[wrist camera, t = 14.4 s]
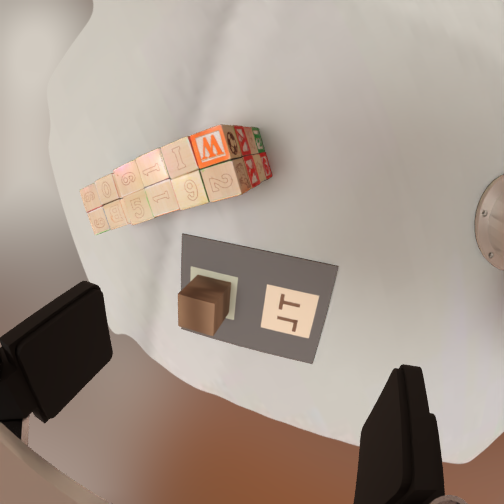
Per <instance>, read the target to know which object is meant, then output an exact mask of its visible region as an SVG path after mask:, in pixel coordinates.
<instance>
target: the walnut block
mask: <svg viewBox="0 0 504 504" xmlns="http://www.w3.org/2000/svg"><path fill="white" fill-rule="evenodd" d="M230 292H231V282H227V281H223V280H219V279H215V278H210V277H206V276H202V275H197V276H196V277H195V278H194V279H193V280H192V281H191V282H190V283H189V284H187V285H186V286H185V287H184V288H183V289H182V290H181V291H180V292H179V293H178V325H179V326H180V327H183V328H187V329H190V330H193V331H197V332H200V333H203V334H207V335H210V336H214V334H215V333H216V331H217V330H218V328H219V327H220V325H221V324H222V322H223V321H224V319H225V318H226V316H227V315H228V313H229V305H230Z"/></svg>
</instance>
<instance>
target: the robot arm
mask: <svg viewBox="0 0 504 504" xmlns="http://www.w3.org/2000/svg"><path fill="white" fill-rule="evenodd" d="M483 210H484V212H483V213H482V211H483ZM475 234H476V240H477V243H478V246H479V249H480V250H481V252H482V254H483V256H484V257H485V258H486V259H487V260H488V261H489V262H490V263H491V264H492V265H493V266H495V267H496V268H498V269H501V270H504V175H501V176H500V177H498V178H497V179H495V180H494V181H493V182H492V183H491V184H490V185H489V186H488V188H487V189H486V191H485V192H484V194H483V195H482V198H481V200H480V202H479V205H478V208H477V212H476V219H475ZM0 343H1V345H2V347H1V348H0V504H112V503H110V502H108V501H107V500H105V499H103V498H101V497H100V496H98V495H96V494H95V493H93V492H91V491H90V490H88V489H87V488H85V487H83V486H82V485H80V484H79V483H77V482H76V481H74V480H73V479H71V478H70V477H68V476H66V475H65V474H64V473H62V472H61V471H60V470H58V469H57V468H55V467H54V466H53V465H51V464H50V463H49V462H47V461H46V460H45V459H43V458H42V457H41V456H39V455H38V454H37V453H36V452H34V451H33V450H32V449H31V448H29V447H28V432H29V414H30V413H31V412H33V413H34V415H35V416H36V417H37V418H38V419H40V420H41V421H42V422H44V423H46V422H47V421H48V420H49V419H50V418H54V417H55V416H56V415H57V414H58V413H59V412H60V411H61V410H62V409H63V408H64V407H65V406H66V405H67V404H68V403H69V402H70V400H72V399H73V398H74V397H75V396H76V394H77V393H78V392H79V391H80V390H81V389H82V388H83V387H84V386H85V385H86V384H87V383H88V382H89V381H90V380H91V379H92V378H93V377H94V376H95V375H96V374H97V373H98V372H99V371H100V370H101V369H102V368H103V367H104V366H105V365H106V364H107V363H108V362H109V361H110V359H111V358H112V354H113V351H112V346H111V341H110V335H109V330H108V323H107V317H106V311H105V304H104V297H103V293H102V291H101V290H100V287H99V286H98V285H95V284H93V283H90V282H87V281H82V282H80V283H79V284H77V285H76V286H74V287H73V288H71V289H70V290H68V291H66V292H65V293H64V294H62V295H60V296H59V297H57V298H56V299H54V300H53V301H52V302H50V303H49V304H47V305H46V306H44V307H43V308H41V309H40V310H38V311H37V312H35V313H34V314H33V315H31V316H30V317H28V318H27V319H25V320H24V321H23V322H21V323H20V324H18V325H17V326H16V327H14V328H13V329H11V330H10V331H9V332H7V333H6V334H4V335H3V336H2V337H0ZM444 492H445V491H444V477H443V467H442V457H441V449H440V441H439V434H438V427H437V421H436V417H435V415H434V414H431V413H429V406H428V400H427V394H426V389H425V383H424V378H423V373H422V369H421V368H420V367H417V366H410V365H404V364H403V365H401V366H400V368H399V369H397V368H394V369H393V371H392V373H391V375H390V377H389V379H388V381H387V383H386V385H385V387H384V389H383V391H382V393H381V395H380V397H379V398H378V400H377V402H376V404H375V406H374V408H373V410H372V411H371V413H370V415H369V417H368V419H367V420H366V422H365V424H364V426H363V428H362V431H361V438H360V451H359V462H358V472H357V482H356V490H355V498H354V504H467V503H466V502H465V501H464V500H463V499H461V498H459V497H457V496H452V495H447V496H445V493H444Z"/></svg>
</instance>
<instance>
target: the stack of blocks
mask: <svg viewBox="0 0 504 504" xmlns="http://www.w3.org/2000/svg"><path fill="white" fill-rule="evenodd" d="M113 171H114V173H111V174H109V175H107V176H105V177H102V178H100V179H98V180H97V181H95V183H93V184H91V185H89V186H87V187H85V188H83V189H81V190H80V193H81V197H82V200H83V203H84V206H85V209H86V212H87V213H88V217H89V220H90V223H91V225H92V228H93V231H94V234H95V235H97V234H100V233H103V232H106V231H108V230H113V229H115V228H118V227H121V226H124V225H127V224H132V225H135V224H138V223H141V222H144V221H147V220H150V219H153V218H156V217H158V216H160V215H163V214H166V213H170V212H173V211H176V210H185V209H188V208H191V207H195V206H198V205H202V204H206V203H209V202H215V201H219V200H222V199H226V198H230V197H234V196H238V195H241V194H243V193H245V192H246V191H248V190H250V189H251V188H254V187H256V186H257V185H259V184H260V183H261V182H263V181H265V180H267V179H269V178H270V177H272V173H271V169H270V166H269V162H268V159H267V156H266V153H265V150H264V147H263V143H262V139H261V136H260V133H259V129H258V128H256V127H243V126H237V125H236V126H235V125H233V126H231V125H222V124H220V125H217V126H214V127H212V128H209V129H206V130H204V131H201V132H199V133H196V134H193V135H191V136H187V137H184V138H182V139H179V140H177V141H175V142H172V143H170V144H168V145H166V146H164V147H161V148H157V149H155V150H152V151H150V152H148V153H146V154H144V155H142V156H140V157H138V158H136V159H135V160H132V161H130V162H128V163H126V164H124V165H122V166H120V167H118V168H116V169H114V170H113Z"/></svg>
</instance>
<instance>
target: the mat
mask: <svg viewBox="0 0 504 504" xmlns="http://www.w3.org/2000/svg"><path fill="white" fill-rule="evenodd" d="M337 270H338V266H335V265H330V264H325V263H321V262H316V261H311V260H306V259H302V258H297V257H292V256H288V255H283V254H278V253H273V252H269V251H264V250H259V249H254V248H250V247H245V246H240V245H235V244H230V243H226V242H221V241H216V240H211V239H207V238H202V237H197V236H192V235H187V234H182V257H181V290H182V289H183V288H184V287H185V286H186V285H187V284H189V283H190V282H191V281H192V280H193V279H194V278H195V277H196V276H197V275H202V276H206V277H210V278H215V279H219V280H223V281H227V282H231V292H230V305H229V313H228V315H227V316H226V318H225V319H224V321H223V322H222V324H221V325H220V327H219V328H218V330H217V331H216V333H215V334H214V336H210V335H207V334H203V333H200V332H197V331H193V330H190V329H187V328H183V327H181V329H184V330H187V331H190V332H193V333H196V334H200V335H203V336H206V337H210V338H213V339H217V340H220V341H224V342H227V343H231V344H234V345H238V346H241V347H245V348H249V349H253V350H256V351H260V352H264V353H268V354H272V355H276V356H280V357H284V358H289V359H293V360H297V361H302V362H306V363H310V364H312V363H313V360H314V356H315V353H316V350H317V346H318V343H319V339H320V336H321V332H322V328H323V325H324V321H325V317H326V314H327V310H328V306H329V302H330V298H331V294H332V290H333V286H334V282H335V278H336V274H337Z"/></svg>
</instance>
